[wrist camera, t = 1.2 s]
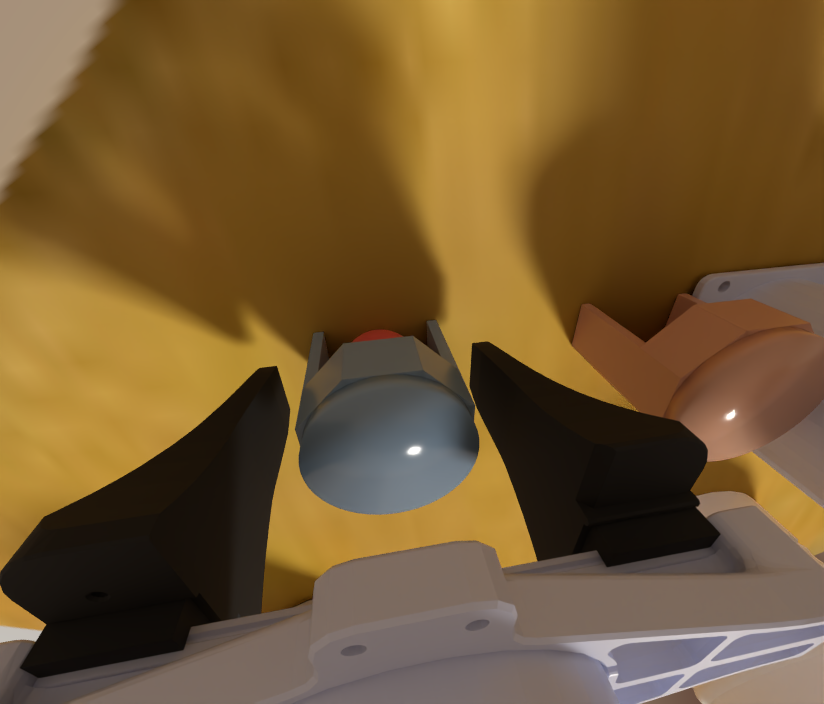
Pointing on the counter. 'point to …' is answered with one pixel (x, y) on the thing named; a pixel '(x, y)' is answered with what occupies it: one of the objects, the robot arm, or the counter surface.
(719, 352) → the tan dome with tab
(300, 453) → the slate-blue dome with prongs
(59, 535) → the robot arm
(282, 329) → the counter surface
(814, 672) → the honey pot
